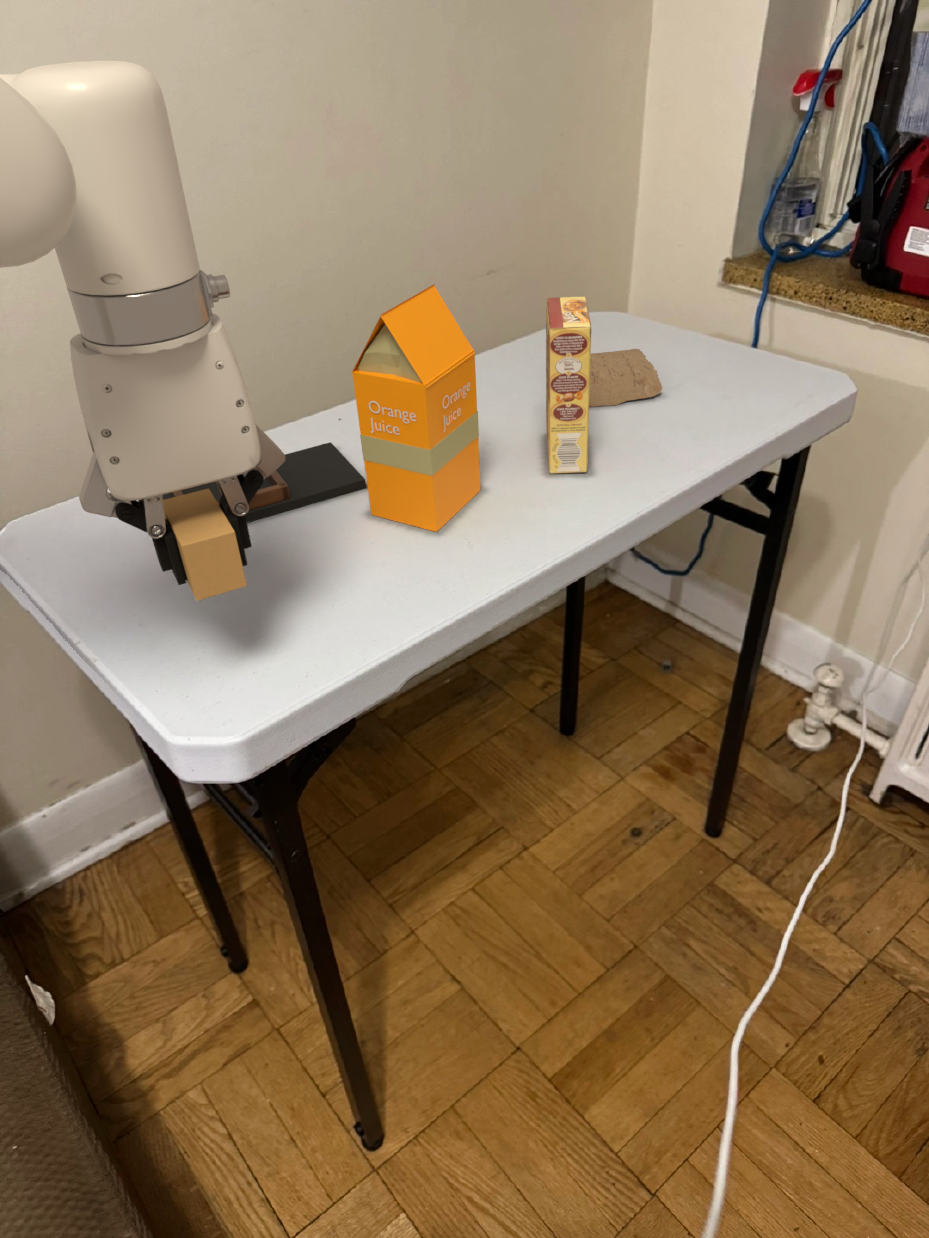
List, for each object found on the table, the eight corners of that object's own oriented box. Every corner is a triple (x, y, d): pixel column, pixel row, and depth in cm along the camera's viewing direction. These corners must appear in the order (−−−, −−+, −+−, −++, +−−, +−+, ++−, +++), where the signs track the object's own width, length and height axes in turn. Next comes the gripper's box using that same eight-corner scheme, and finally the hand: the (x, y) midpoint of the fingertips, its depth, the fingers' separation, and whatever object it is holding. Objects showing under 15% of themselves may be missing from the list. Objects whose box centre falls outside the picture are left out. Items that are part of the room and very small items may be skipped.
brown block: (196, 601, 60) (181, 546, 57) (173, 553, 65) (159, 500, 62) (247, 586, 61) (234, 531, 58) (221, 540, 66) (208, 488, 63)
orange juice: (482, 490, 87) (473, 288, 75) (437, 532, 82) (420, 321, 69) (416, 474, 91) (398, 278, 78) (369, 514, 85) (341, 309, 72)
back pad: (172, 544, 82) (165, 522, 81) (150, 499, 89) (144, 477, 88) (366, 487, 89) (363, 466, 87) (332, 450, 96) (328, 429, 95)
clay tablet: (665, 397, 102) (667, 375, 101) (582, 407, 101) (583, 385, 100) (625, 353, 114) (627, 333, 112) (551, 362, 113) (551, 342, 111)
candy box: (588, 474, 89) (594, 326, 79) (547, 475, 89) (548, 327, 80) (582, 435, 96) (587, 294, 86) (544, 436, 96) (545, 296, 87)
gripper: (259, 271, 57) (301, 513, 68) (-13, 317, 51) (81, 573, 62) (296, 301, 52) (334, 558, 63) (-3, 356, 46) (98, 629, 57)
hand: (208, 563), depth 62 cm, fingers closed on brown block, 3 cm apart
